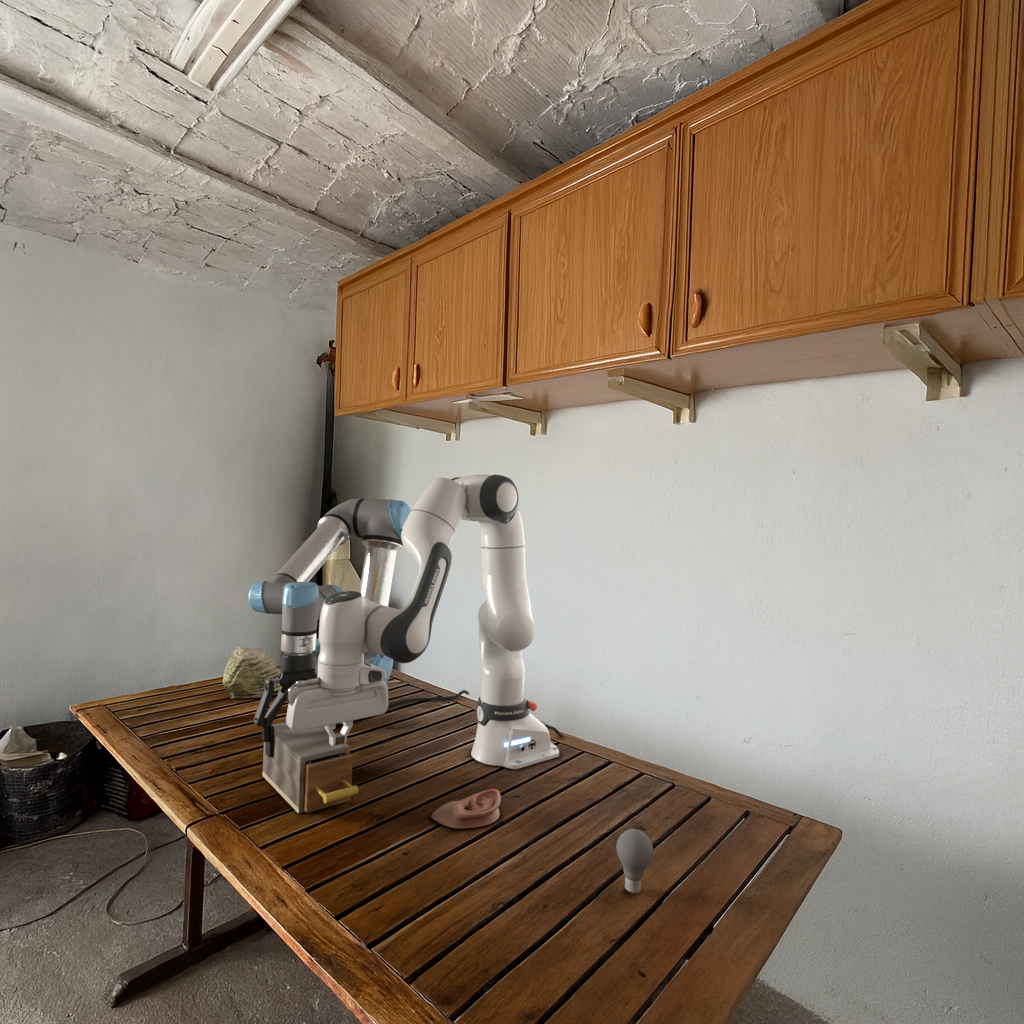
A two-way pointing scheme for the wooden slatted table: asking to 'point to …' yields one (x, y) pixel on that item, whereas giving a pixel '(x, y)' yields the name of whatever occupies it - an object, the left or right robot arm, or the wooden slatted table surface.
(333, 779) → the drawer
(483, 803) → the anatomical model
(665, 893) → the wooden slatted table surface
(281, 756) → the cabinet
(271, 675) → the fossil
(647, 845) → the light bulb
